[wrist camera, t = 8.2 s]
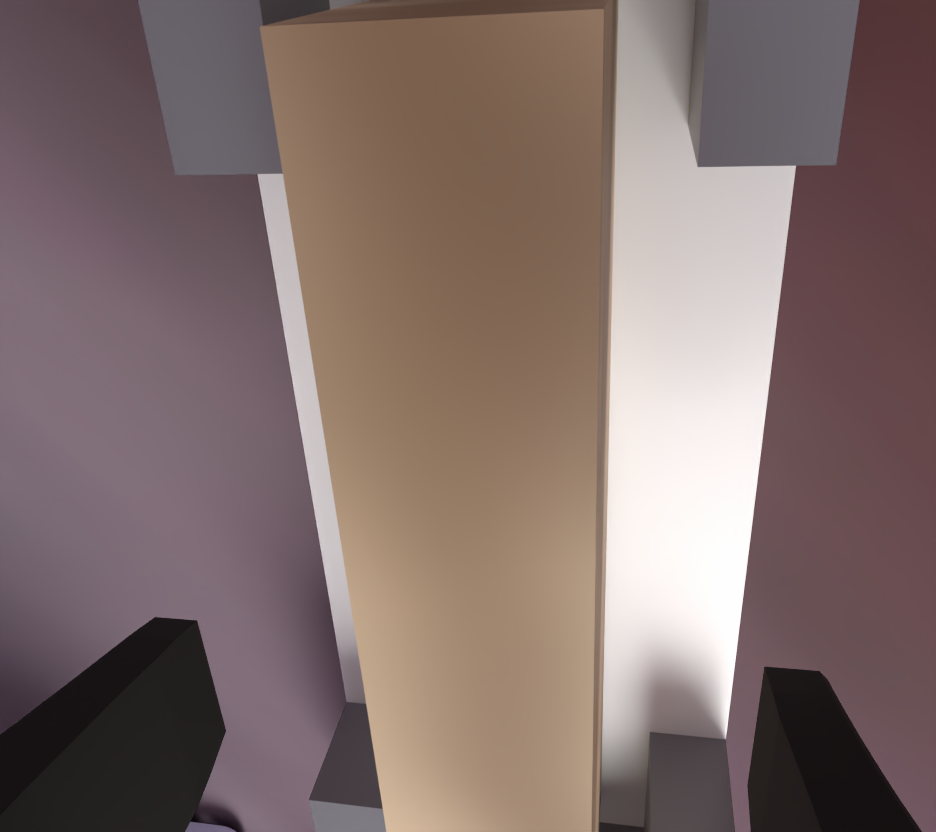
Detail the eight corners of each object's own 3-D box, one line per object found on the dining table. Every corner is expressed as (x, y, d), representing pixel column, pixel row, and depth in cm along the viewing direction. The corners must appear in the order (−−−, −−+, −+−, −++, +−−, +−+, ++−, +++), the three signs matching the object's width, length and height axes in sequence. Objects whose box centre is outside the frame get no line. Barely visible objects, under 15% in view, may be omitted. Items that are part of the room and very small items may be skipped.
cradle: (379, 800, 22) (338, 937, 19) (223, -214, 12) (82, -263, 9) (705, 838, 21) (716, 994, 18) (835, -276, 11) (911, -361, 8)
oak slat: (466, 781, 20) (416, 1020, 15) (398, -7, 12) (260, 26, 8) (600, 796, 19) (588, 1048, 15) (618, -20, 11) (603, 8, 7)
